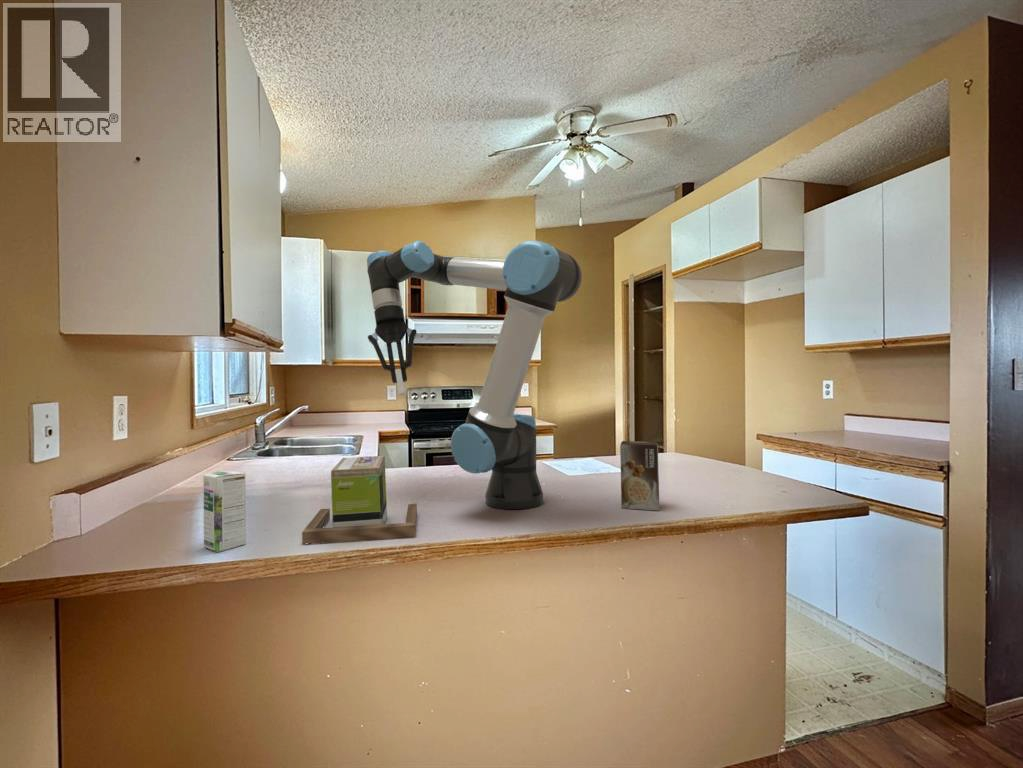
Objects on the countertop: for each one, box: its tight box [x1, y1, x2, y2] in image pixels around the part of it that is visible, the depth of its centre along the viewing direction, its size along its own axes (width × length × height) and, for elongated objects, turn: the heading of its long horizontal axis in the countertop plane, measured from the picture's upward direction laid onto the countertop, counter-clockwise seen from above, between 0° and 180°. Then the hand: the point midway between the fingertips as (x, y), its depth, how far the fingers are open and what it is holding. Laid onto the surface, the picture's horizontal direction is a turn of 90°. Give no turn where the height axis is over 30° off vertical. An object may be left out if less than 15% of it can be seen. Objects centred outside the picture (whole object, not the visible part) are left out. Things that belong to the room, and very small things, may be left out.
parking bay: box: [301, 503, 418, 545], centre depth 108 cm, size 22×18×2 cm
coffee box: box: [619, 440, 661, 512], centre depth 123 cm, size 9×6×16 cm
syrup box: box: [202, 470, 247, 553], centre depth 98 cm, size 6×6×14 cm
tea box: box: [330, 455, 388, 527], centre depth 109 cm, size 15×10×15 cm, turn 10°
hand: (401, 394), depth 128 cm, fingers closed
